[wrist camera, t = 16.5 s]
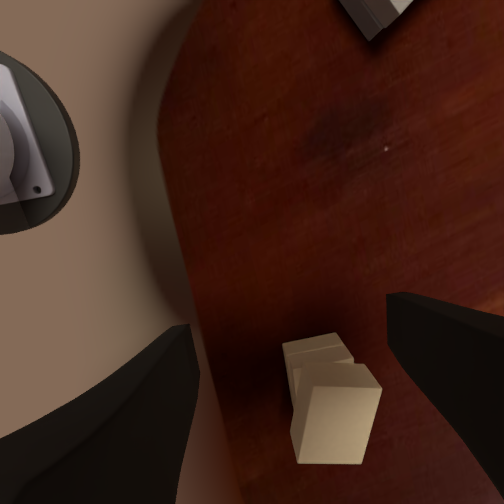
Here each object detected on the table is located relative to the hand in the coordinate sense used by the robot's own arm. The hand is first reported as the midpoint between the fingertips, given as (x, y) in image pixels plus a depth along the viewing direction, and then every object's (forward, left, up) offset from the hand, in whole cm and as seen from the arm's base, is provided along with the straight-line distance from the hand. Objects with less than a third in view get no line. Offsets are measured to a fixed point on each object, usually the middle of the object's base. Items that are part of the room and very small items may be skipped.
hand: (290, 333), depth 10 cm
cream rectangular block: (+3, -10, -7) cm, 13 cm away
